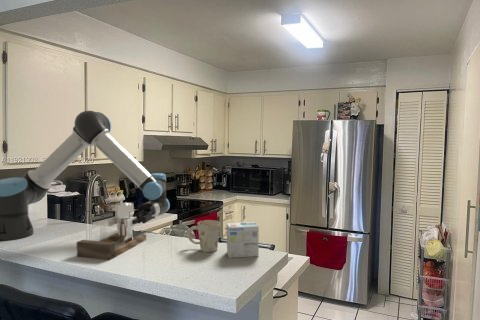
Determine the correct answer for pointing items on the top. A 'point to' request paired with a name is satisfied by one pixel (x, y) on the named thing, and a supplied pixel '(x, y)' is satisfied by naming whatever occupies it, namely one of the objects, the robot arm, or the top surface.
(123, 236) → the metal tumbler
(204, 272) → the top surface
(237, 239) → the light bulb box
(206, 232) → the mug
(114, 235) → the brown u-shaped block
